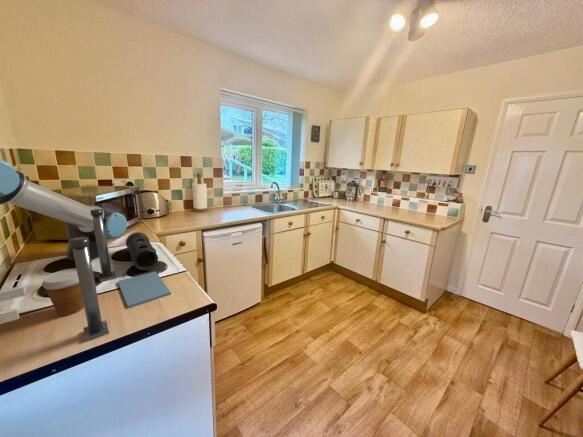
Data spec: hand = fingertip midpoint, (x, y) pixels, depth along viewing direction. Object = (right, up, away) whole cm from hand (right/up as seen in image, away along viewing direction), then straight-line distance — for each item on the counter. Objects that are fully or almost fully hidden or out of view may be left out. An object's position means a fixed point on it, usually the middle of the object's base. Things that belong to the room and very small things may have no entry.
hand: (21, 301), depth 66 cm
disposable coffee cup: (+6, -6, +8) cm, 12 cm away
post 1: (+22, -8, 0) cm, 23 cm away
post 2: (+3, 0, +27) cm, 27 cm away
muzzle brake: (+6, +4, +44) cm, 44 cm away
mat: (+21, -3, +21) cm, 30 cm away
